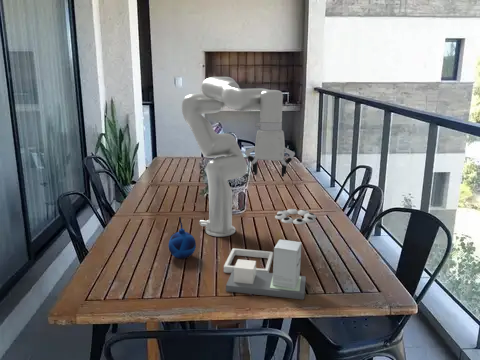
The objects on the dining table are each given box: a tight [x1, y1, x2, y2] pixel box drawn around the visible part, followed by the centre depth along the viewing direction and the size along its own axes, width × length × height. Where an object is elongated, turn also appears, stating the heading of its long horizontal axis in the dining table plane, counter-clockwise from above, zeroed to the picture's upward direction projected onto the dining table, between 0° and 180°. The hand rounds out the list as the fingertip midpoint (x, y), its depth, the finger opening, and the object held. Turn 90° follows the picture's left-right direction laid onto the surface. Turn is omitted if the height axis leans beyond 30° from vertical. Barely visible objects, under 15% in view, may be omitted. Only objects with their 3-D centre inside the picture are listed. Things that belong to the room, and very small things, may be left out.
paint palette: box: [274, 208, 317, 225], centre depth 197 cm, size 20×20×2 cm
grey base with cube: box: [225, 258, 307, 300], centre depth 134 cm, size 24×11×7 cm, turn 79°
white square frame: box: [223, 247, 274, 274], centre depth 149 cm, size 15×15×2 cm
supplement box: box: [272, 239, 302, 289], centre depth 131 cm, size 7×7×13 cm
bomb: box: [167, 216, 197, 260], centre depth 153 cm, size 10×11×15 cm
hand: (269, 175), depth 150 cm, fingers open, 9 cm apart
